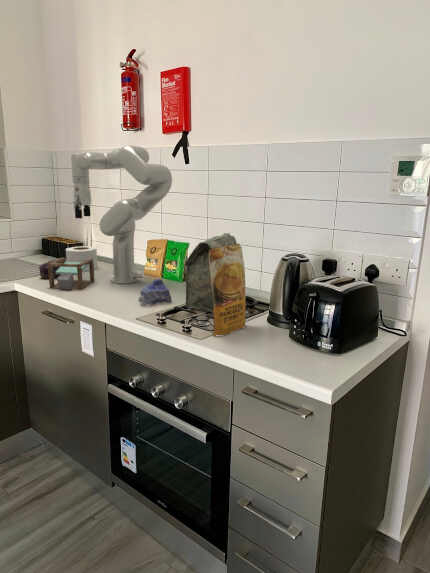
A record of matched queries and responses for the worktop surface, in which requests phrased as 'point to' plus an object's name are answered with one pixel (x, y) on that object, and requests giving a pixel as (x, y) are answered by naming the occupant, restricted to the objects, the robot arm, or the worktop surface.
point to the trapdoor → (69, 268)
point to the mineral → (154, 293)
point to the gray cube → (66, 281)
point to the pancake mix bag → (227, 288)
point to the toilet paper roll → (82, 255)
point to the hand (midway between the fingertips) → (83, 217)
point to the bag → (202, 272)
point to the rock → (44, 270)
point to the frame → (79, 283)
